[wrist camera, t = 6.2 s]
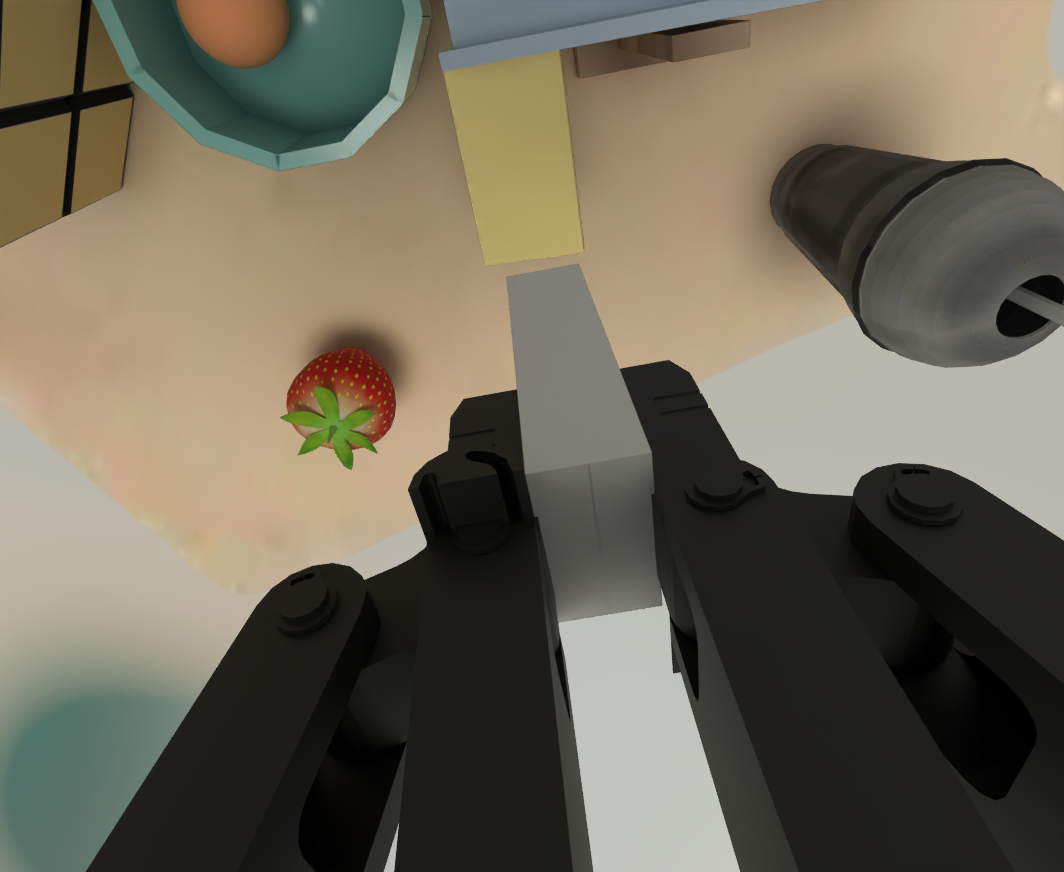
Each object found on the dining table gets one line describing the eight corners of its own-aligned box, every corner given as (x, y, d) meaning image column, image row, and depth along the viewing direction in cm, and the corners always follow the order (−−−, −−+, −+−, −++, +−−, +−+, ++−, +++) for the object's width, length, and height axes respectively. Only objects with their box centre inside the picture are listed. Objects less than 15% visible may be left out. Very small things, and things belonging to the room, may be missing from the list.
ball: (164, -40, 24) (144, -55, 21) (267, -58, 25) (263, -74, 22) (210, 76, 26) (199, 79, 23) (304, 57, 27) (305, 57, 24)
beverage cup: (771, 102, 30) (1134, 214, 13) (910, 122, 30) (1414, 250, 14) (725, 253, 34) (959, 483, 17) (849, 267, 35) (1186, 498, 18)
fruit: (396, 320, 35) (376, 393, 28) (409, 400, 37) (393, 482, 31) (298, 325, 34) (255, 399, 28) (319, 405, 37) (284, 489, 31)
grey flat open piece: (1098, -353, 15) (1190, -417, 13) (971, 195, 22) (1015, 220, 20) (398, -168, 18) (366, -191, 16) (488, 258, 26) (475, 286, 23)
